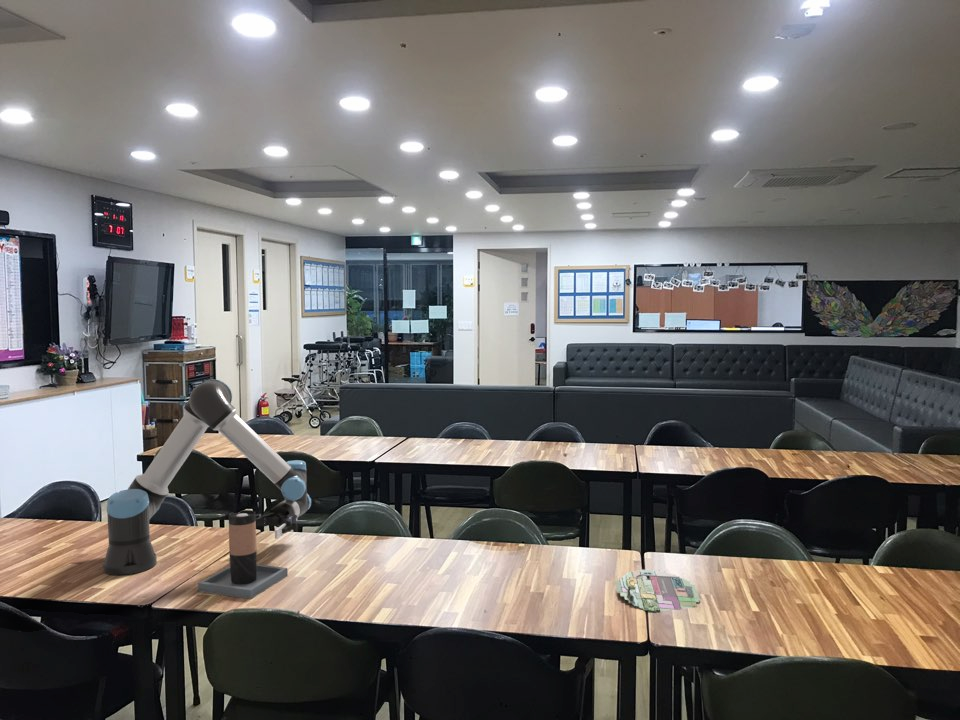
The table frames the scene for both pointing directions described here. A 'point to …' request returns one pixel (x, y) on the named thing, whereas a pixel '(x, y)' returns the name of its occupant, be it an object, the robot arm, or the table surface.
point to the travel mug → (242, 547)
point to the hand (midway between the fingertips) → (254, 533)
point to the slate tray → (224, 586)
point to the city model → (657, 590)
